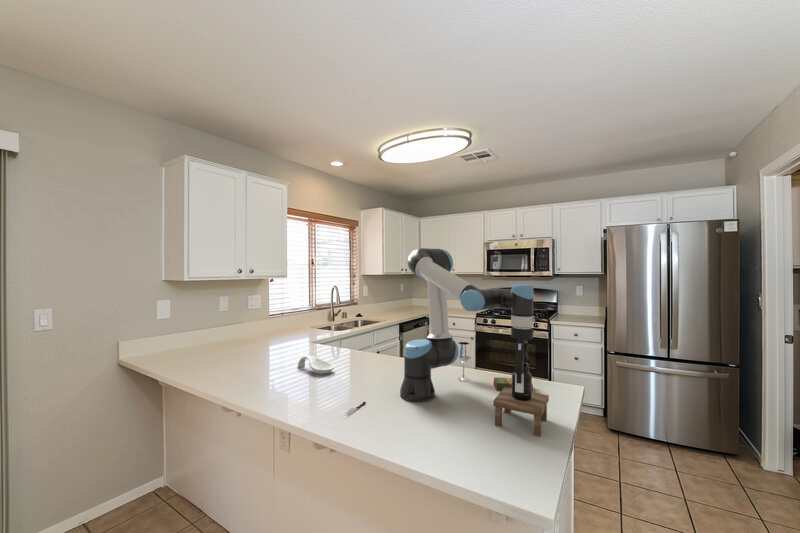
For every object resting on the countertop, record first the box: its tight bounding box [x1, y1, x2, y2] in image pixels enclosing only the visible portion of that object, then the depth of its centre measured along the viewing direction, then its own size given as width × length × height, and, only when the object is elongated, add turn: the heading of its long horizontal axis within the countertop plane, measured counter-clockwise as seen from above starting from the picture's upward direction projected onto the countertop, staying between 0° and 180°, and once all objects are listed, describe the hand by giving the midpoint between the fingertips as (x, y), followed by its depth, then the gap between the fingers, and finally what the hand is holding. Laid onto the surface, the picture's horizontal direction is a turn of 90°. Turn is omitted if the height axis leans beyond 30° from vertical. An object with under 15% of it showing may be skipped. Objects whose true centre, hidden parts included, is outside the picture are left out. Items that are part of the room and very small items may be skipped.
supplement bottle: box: [511, 363, 533, 401], centre depth 125 cm, size 7×7×12 cm
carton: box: [493, 377, 534, 392], centre depth 160 cm, size 8×16×4 cm, turn 84°
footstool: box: [492, 387, 550, 437], centre depth 125 cm, size 16×16×9 cm
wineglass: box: [456, 341, 473, 382], centre depth 173 cm, size 8×8×18 cm
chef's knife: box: [345, 401, 366, 417], centre depth 134 cm, size 19×1×3 cm
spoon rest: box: [297, 355, 335, 375], centre depth 185 cm, size 24×12×7 cm, turn 56°
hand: (521, 386), depth 125 cm, fingers open, 13 cm apart
